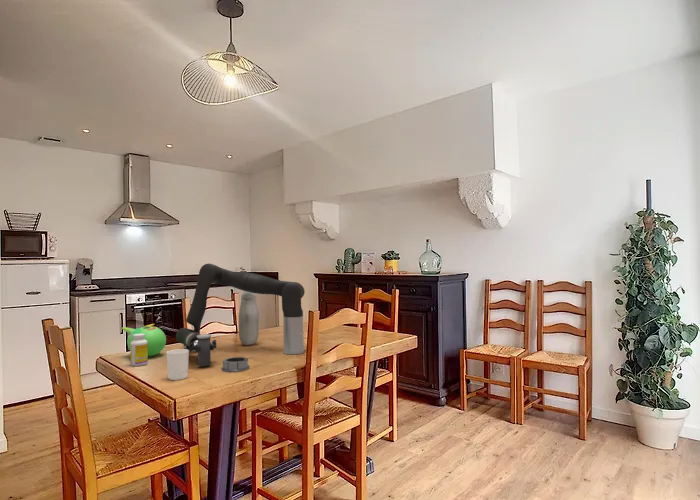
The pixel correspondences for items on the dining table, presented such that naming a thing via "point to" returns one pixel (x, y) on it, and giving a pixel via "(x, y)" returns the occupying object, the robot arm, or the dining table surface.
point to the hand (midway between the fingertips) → (205, 348)
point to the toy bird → (149, 338)
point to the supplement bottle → (138, 350)
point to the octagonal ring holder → (235, 364)
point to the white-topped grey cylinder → (204, 350)
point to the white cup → (177, 364)
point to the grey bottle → (248, 319)
